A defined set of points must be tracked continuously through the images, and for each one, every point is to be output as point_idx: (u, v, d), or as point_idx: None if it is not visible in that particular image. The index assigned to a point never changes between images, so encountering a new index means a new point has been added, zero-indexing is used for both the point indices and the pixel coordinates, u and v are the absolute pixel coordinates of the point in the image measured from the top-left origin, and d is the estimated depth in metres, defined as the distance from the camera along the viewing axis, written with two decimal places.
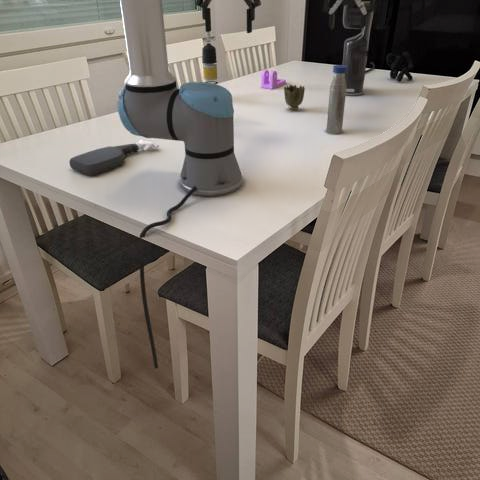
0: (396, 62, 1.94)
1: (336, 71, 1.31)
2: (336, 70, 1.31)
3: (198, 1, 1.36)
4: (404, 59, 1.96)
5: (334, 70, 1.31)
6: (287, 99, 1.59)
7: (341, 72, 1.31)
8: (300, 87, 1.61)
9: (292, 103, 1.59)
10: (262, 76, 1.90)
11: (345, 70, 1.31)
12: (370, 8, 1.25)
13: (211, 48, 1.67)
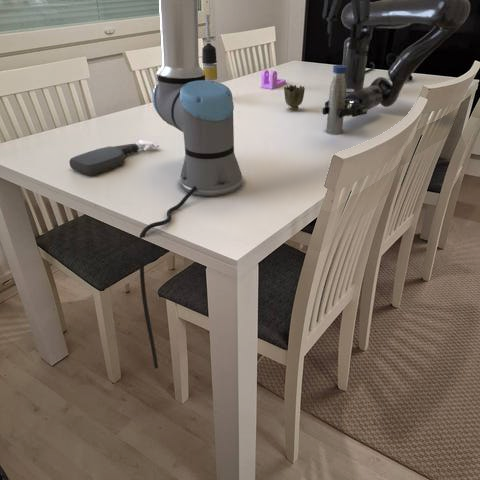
0: None
1: (336, 71, 1.31)
2: (336, 70, 1.31)
3: None
4: None
5: (334, 70, 1.31)
6: (287, 99, 1.59)
7: (341, 72, 1.31)
8: (300, 87, 1.61)
9: (292, 103, 1.59)
10: (262, 76, 1.90)
11: (345, 70, 1.31)
12: None
13: (211, 48, 1.67)
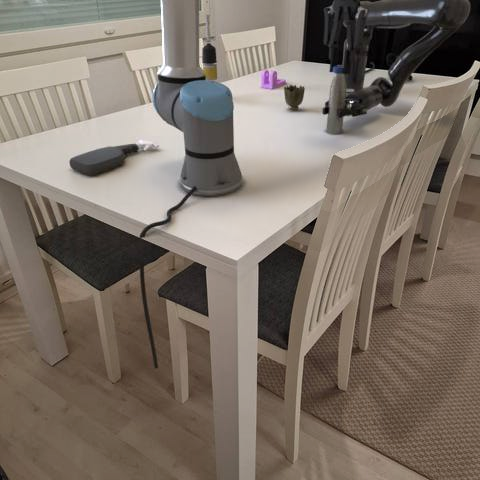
0: None
1: (336, 71, 1.31)
2: (336, 70, 1.31)
3: None
4: None
5: (334, 70, 1.31)
6: (287, 99, 1.59)
7: (341, 72, 1.31)
8: (300, 87, 1.61)
9: (292, 103, 1.59)
10: (262, 76, 1.90)
11: None
12: None
13: (211, 48, 1.67)
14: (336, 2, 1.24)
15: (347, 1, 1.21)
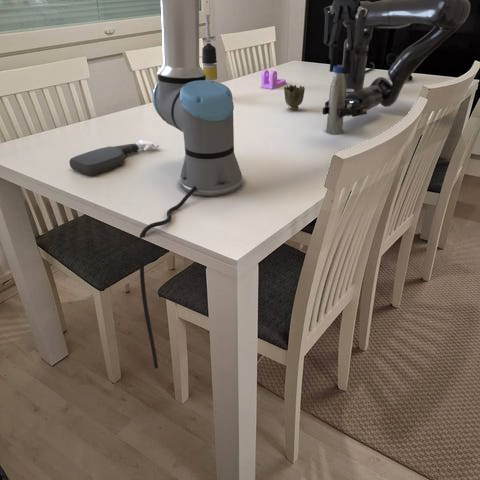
0: None
1: None
2: None
3: None
4: None
5: None
6: (287, 99, 1.59)
7: None
8: (300, 87, 1.61)
9: (292, 103, 1.59)
10: (262, 76, 1.90)
11: None
12: None
13: (211, 48, 1.67)
14: (336, 2, 1.24)
15: (347, 1, 1.21)
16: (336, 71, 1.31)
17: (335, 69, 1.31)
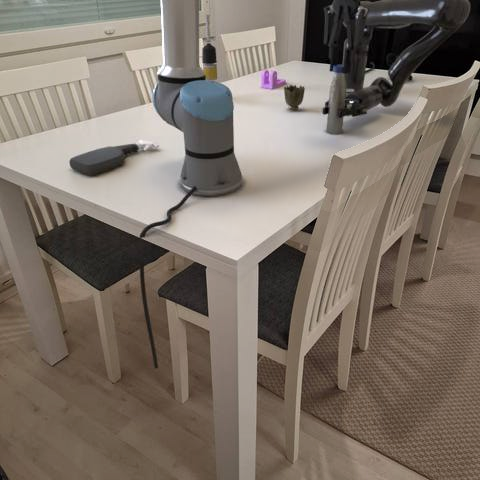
0: None
1: None
2: None
3: None
4: None
5: None
6: (287, 99, 1.59)
7: None
8: (300, 87, 1.61)
9: (292, 103, 1.59)
10: (262, 76, 1.90)
11: None
12: None
13: (211, 48, 1.67)
14: (336, 1, 1.24)
15: (347, 0, 1.21)
16: None
17: None
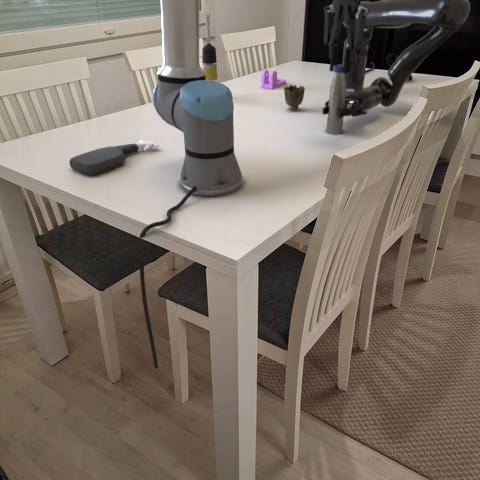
0: None
1: None
2: None
3: None
4: None
5: None
6: (287, 99, 1.59)
7: None
8: (300, 87, 1.61)
9: (292, 103, 1.59)
10: (262, 76, 1.90)
11: (333, 68, 1.32)
12: None
13: (211, 48, 1.67)
14: (336, 1, 1.24)
15: (347, 0, 1.21)
16: None
17: None
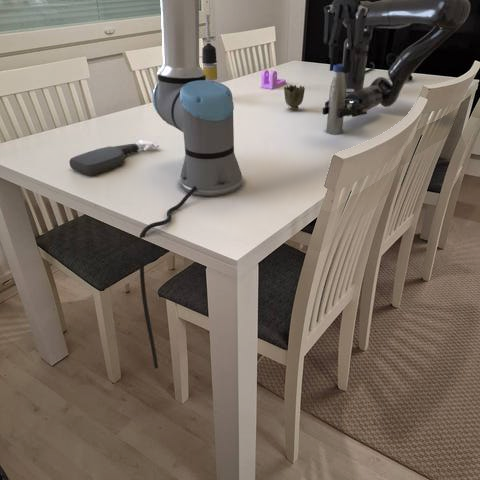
0: None
1: (333, 69, 1.32)
2: (333, 67, 1.32)
3: None
4: None
5: (333, 68, 1.32)
6: (287, 99, 1.59)
7: (336, 71, 1.31)
8: (300, 87, 1.61)
9: (292, 103, 1.59)
10: (262, 76, 1.90)
11: (341, 69, 1.30)
12: None
13: (211, 48, 1.67)
14: (336, 1, 1.24)
15: (347, 0, 1.21)
16: None
17: None
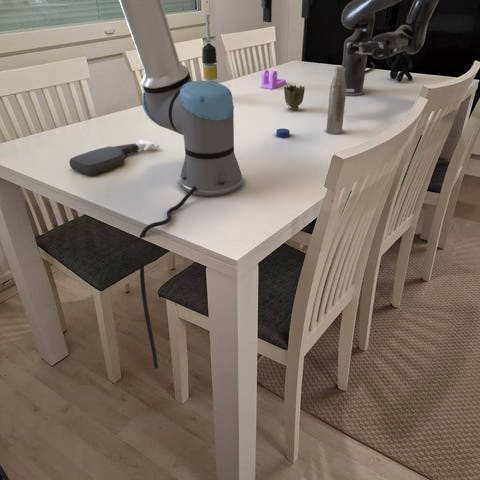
0: (396, 62, 1.94)
1: (283, 136, 1.38)
2: (283, 134, 1.38)
3: None
4: (404, 59, 1.96)
5: (280, 135, 1.38)
6: (287, 99, 1.59)
7: (287, 136, 1.38)
8: (300, 87, 1.61)
9: (292, 103, 1.59)
10: (262, 76, 1.90)
11: (289, 133, 1.39)
12: None
13: (211, 48, 1.67)
14: None
15: None
16: (276, 134, 1.39)
17: (276, 132, 1.39)
